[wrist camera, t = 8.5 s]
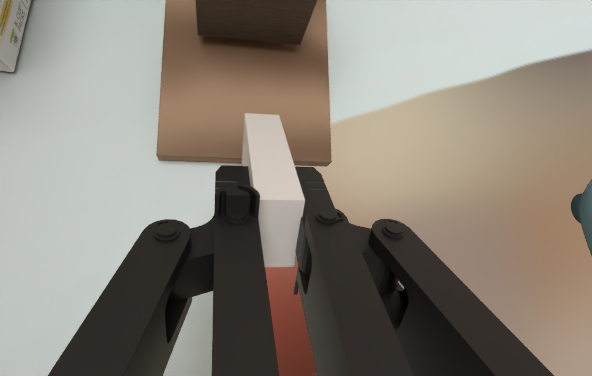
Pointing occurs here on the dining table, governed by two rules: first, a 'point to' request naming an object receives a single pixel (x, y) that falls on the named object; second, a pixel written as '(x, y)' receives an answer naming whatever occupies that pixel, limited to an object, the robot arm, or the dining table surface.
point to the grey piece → (255, 19)
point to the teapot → (584, 212)
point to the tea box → (11, 31)
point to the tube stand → (241, 90)
